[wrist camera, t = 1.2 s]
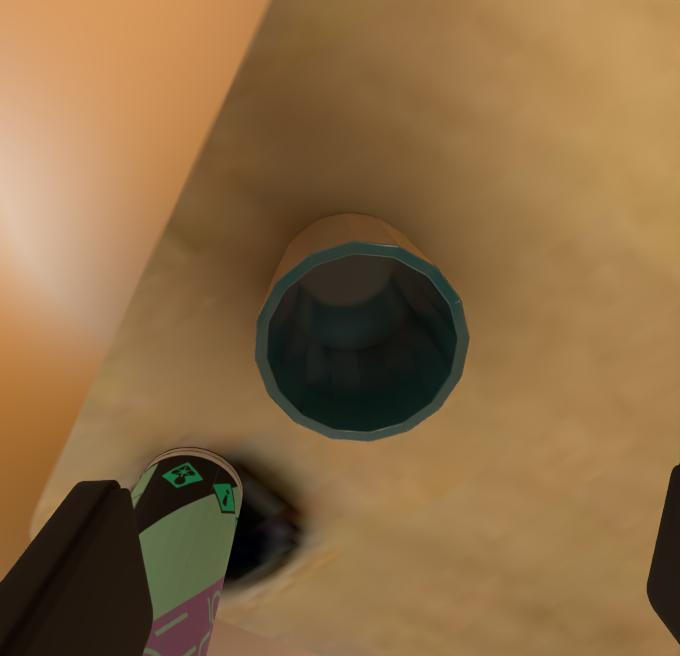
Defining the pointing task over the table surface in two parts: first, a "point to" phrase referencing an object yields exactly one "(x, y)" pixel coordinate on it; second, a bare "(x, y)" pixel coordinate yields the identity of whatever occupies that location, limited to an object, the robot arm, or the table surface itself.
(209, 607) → the spray can
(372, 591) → the table surface
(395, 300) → the cup
